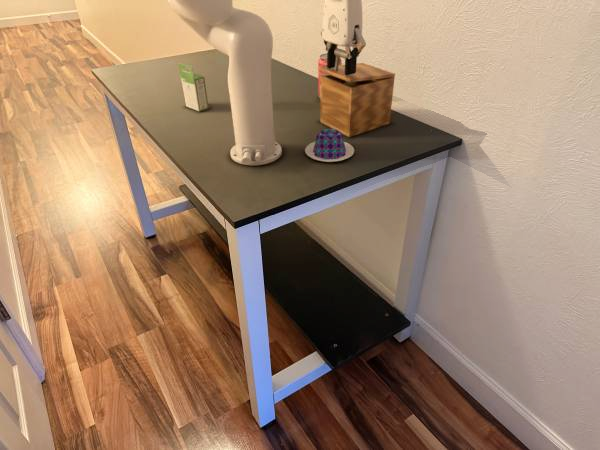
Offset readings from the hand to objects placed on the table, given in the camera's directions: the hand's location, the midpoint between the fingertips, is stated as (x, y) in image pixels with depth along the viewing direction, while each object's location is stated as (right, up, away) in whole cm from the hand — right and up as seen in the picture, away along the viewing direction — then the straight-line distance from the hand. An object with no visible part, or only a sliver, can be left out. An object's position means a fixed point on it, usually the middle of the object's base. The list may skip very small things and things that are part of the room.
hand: (341, 70), depth 105 cm
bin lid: (+4, 0, +3) cm, 5 cm away
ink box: (-42, -3, +24) cm, 48 cm away
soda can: (-1, +1, +28) cm, 28 cm away
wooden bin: (+5, -10, +12) cm, 16 cm away
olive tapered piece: (+3, -11, +10) cm, 15 cm away
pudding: (-3, -21, -3) cm, 22 cm away
